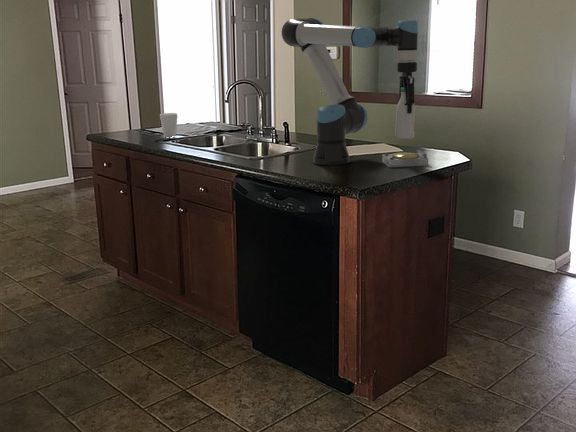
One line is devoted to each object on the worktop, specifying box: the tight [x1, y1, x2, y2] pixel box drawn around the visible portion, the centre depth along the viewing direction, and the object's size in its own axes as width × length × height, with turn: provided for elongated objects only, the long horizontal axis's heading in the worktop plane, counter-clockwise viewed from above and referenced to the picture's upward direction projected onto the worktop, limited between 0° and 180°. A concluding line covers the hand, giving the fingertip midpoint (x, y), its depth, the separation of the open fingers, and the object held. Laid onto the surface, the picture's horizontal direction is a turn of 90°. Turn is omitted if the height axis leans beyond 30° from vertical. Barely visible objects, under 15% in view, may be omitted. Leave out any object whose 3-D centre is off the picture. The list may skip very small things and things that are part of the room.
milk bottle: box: [394, 87, 416, 140], centre depth 242 cm, size 8×8×20 cm
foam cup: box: [159, 112, 178, 138], centre depth 334 cm, size 10×9×13 cm
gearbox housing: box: [382, 149, 429, 168], centre depth 248 cm, size 16×12×4 cm
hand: (405, 120), depth 243 cm, fingers closed on milk bottle, 7 cm apart
